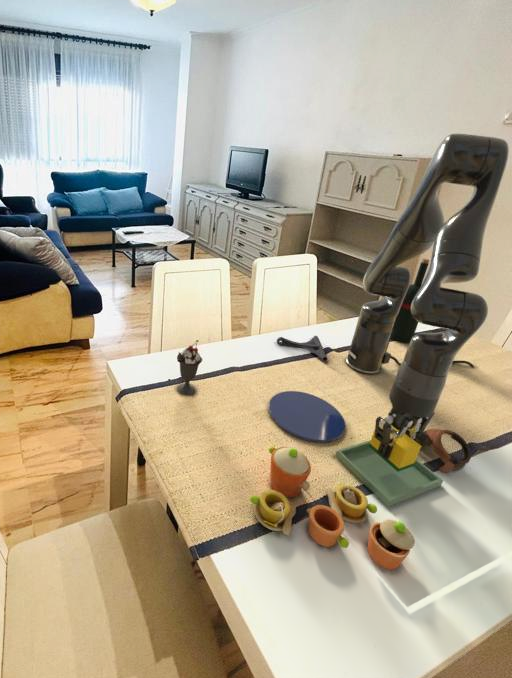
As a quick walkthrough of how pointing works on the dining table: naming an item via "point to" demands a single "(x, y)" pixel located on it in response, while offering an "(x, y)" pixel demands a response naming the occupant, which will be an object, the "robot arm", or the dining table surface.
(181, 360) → the sundae
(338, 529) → the toy tea set
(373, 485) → the dish
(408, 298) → the wine bottle
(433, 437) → the pottery mug
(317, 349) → the bracket
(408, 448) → the sponge
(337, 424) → the plate
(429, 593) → the dining table surface
